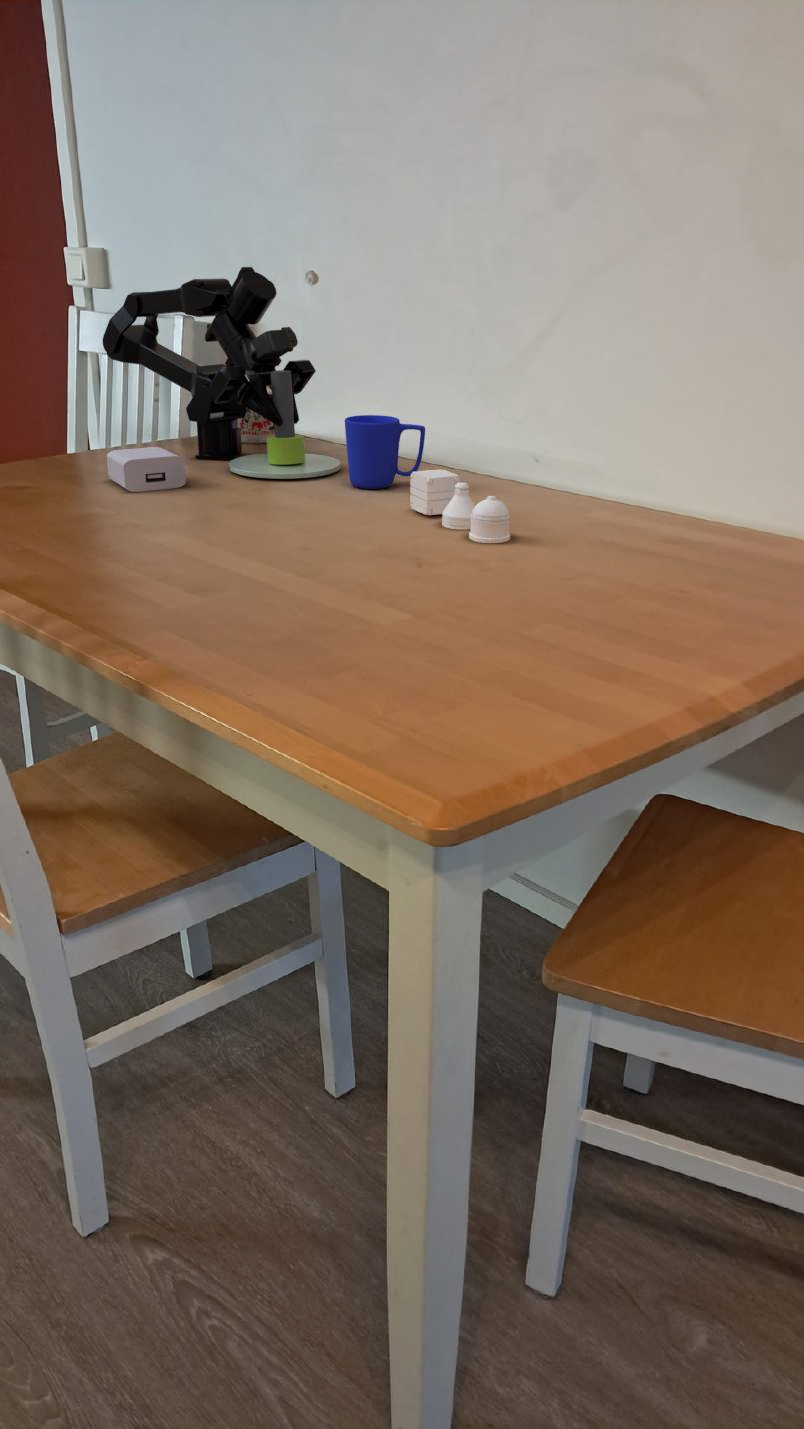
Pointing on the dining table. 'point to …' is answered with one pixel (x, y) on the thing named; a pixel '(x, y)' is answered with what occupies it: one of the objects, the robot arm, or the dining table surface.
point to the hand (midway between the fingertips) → (289, 423)
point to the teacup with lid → (255, 427)
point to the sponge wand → (284, 424)
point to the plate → (284, 467)
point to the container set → (459, 506)
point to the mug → (376, 449)
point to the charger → (146, 469)
